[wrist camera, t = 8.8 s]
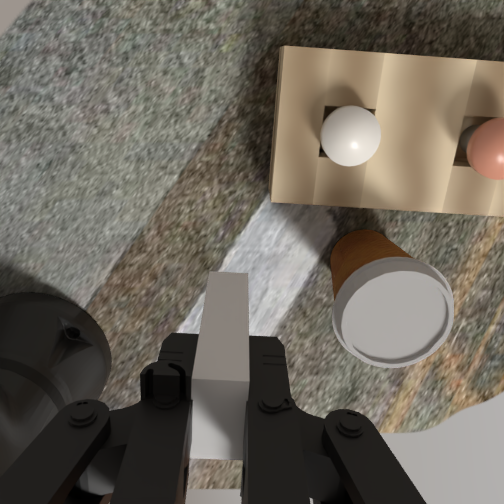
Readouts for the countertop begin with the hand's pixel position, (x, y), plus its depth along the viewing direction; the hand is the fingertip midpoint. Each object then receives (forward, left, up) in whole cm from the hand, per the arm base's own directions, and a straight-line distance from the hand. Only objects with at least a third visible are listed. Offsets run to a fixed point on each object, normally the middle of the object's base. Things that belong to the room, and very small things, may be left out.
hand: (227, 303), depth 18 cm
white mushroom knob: (+8, +4, -24) cm, 26 cm away
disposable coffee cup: (+13, -9, -27) cm, 31 cm away
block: (+14, +4, -26) cm, 30 cm away
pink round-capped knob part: (+19, +4, -23) cm, 30 cm away
